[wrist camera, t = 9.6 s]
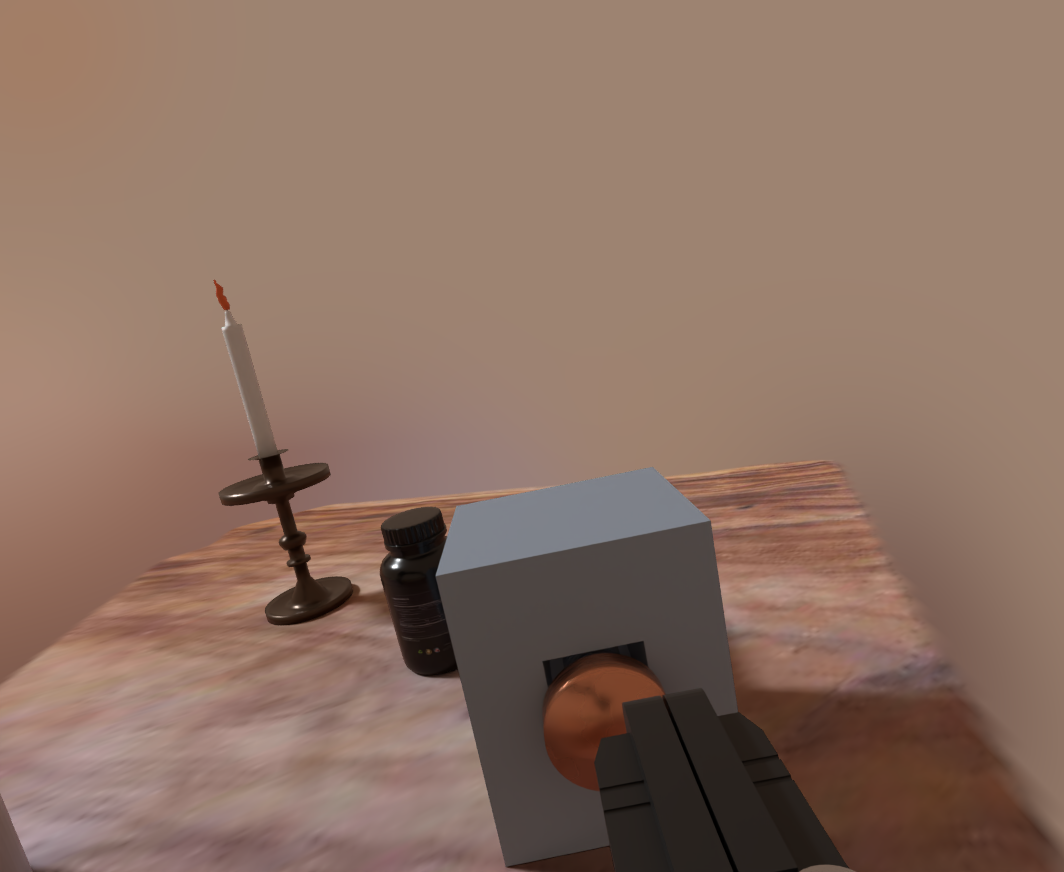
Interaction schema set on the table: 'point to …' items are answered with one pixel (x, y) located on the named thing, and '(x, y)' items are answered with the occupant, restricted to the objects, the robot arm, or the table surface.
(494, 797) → the block with square hole
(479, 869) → the table surface
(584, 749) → the pin
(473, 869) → the table surface
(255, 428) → the candlestick
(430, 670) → the supplement bottle
